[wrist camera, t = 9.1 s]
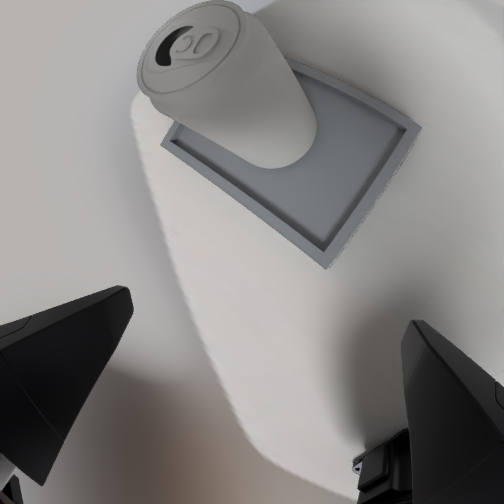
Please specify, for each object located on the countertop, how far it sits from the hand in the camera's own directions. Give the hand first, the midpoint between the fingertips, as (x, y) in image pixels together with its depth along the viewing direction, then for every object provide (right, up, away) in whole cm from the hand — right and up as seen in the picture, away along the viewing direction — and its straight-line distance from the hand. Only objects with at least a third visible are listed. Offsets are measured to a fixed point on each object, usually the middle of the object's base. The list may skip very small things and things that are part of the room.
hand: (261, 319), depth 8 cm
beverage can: (+2, +11, +12) cm, 17 cm away
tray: (+2, +11, +13) cm, 17 cm away
